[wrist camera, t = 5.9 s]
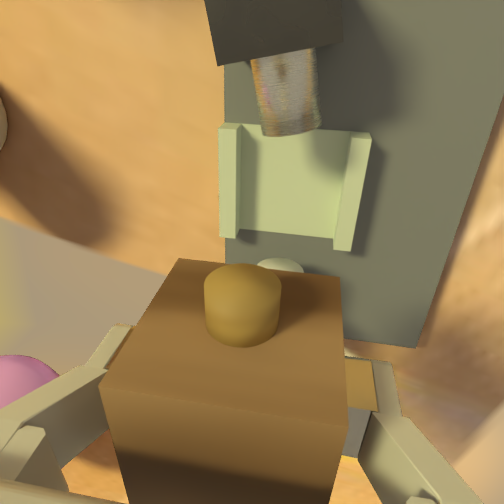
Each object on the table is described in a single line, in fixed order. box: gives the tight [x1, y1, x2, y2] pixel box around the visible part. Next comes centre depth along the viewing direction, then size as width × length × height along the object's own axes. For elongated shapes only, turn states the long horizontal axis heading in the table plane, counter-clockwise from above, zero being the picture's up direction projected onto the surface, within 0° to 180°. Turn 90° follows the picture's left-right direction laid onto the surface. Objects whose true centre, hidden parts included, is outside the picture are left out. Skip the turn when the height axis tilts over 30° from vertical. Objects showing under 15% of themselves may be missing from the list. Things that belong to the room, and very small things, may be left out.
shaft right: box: [204, 0, 343, 137], centre depth 17 cm, size 7×5×5 cm
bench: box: [218, 0, 504, 348], centre depth 21 cm, size 23×14×6 cm, turn 178°
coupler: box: [98, 258, 349, 504], centre depth 10 cm, size 7×4×4 cm
